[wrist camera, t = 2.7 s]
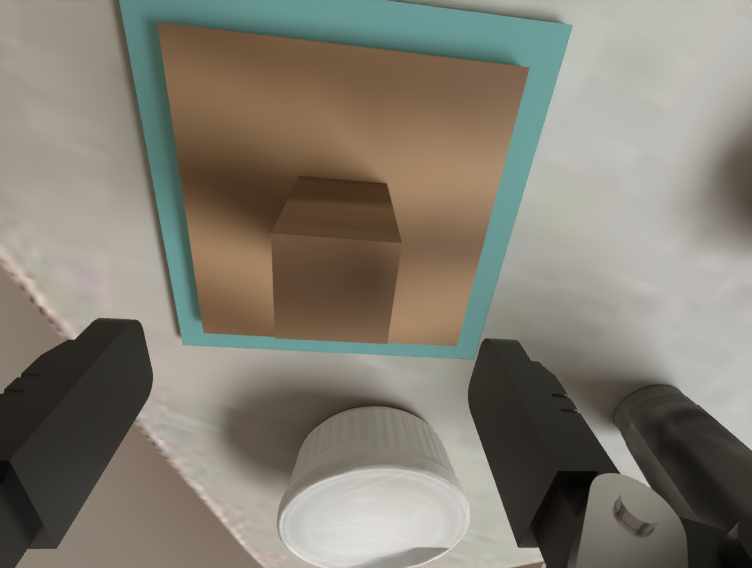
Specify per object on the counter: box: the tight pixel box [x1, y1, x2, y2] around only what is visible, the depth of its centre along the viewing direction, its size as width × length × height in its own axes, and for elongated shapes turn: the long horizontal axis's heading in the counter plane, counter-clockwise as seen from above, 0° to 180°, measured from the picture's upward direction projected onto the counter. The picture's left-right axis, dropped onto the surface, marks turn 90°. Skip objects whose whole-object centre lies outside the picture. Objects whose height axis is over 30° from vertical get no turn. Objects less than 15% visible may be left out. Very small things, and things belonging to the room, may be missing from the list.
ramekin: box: [277, 406, 470, 568], centre depth 24 cm, size 11×11×5 cm
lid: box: [157, 22, 530, 347], centre depth 14 cm, size 13×13×7 cm
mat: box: [119, 0, 573, 359], centre depth 18 cm, size 16×16×1 cm
